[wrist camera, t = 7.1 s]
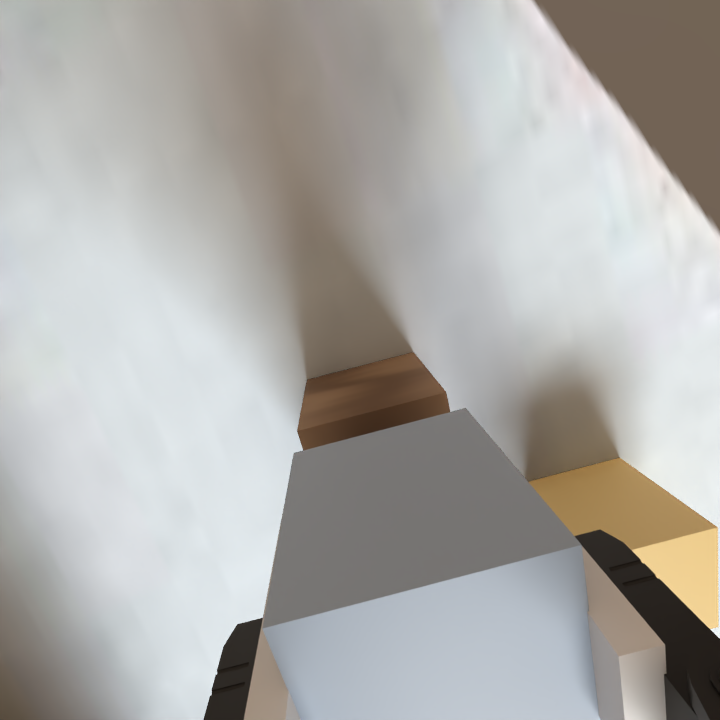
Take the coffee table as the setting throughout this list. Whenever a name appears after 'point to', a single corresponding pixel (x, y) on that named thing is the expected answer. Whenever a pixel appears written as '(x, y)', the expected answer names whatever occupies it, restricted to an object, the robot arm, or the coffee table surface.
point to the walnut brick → (368, 400)
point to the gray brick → (427, 584)
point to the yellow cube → (642, 527)
